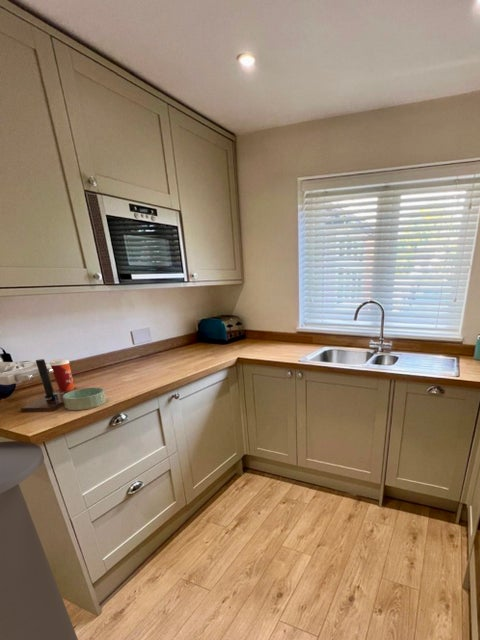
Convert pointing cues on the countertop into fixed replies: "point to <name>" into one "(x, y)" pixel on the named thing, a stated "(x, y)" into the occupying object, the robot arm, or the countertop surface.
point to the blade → (46, 381)
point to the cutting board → (45, 404)
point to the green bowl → (84, 398)
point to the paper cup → (62, 374)
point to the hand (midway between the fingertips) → (41, 374)
